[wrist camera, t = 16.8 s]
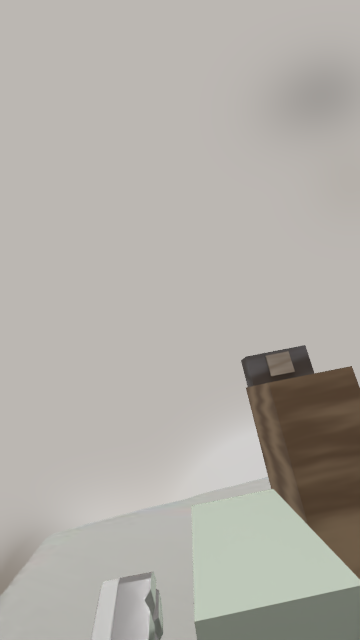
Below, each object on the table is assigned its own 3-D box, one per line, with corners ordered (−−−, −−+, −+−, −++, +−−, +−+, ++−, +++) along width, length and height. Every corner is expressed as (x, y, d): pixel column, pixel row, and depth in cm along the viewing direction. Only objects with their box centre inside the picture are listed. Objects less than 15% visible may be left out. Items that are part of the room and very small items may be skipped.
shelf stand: (464, 673, 22) (338, 330, 30) (356, 698, 22) (258, 345, 30) (369, 580, 34) (297, 349, 42) (298, 595, 33) (239, 360, 42)
